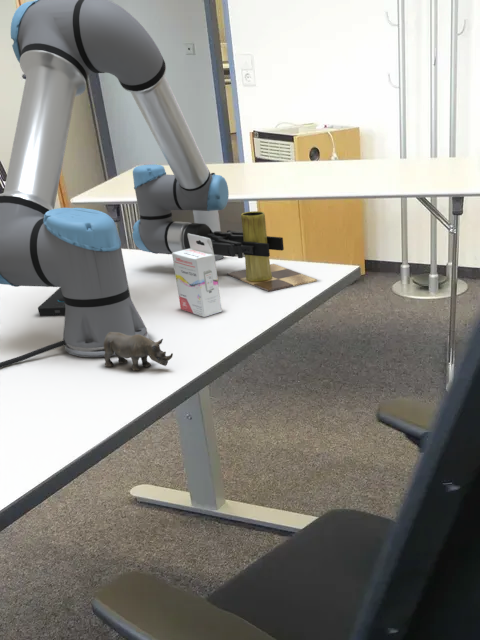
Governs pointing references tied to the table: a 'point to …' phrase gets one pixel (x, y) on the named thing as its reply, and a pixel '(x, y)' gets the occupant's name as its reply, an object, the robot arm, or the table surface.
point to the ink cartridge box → (197, 277)
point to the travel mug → (209, 221)
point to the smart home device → (53, 305)
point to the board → (276, 278)
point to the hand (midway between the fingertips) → (275, 247)
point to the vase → (256, 232)
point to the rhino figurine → (133, 349)
